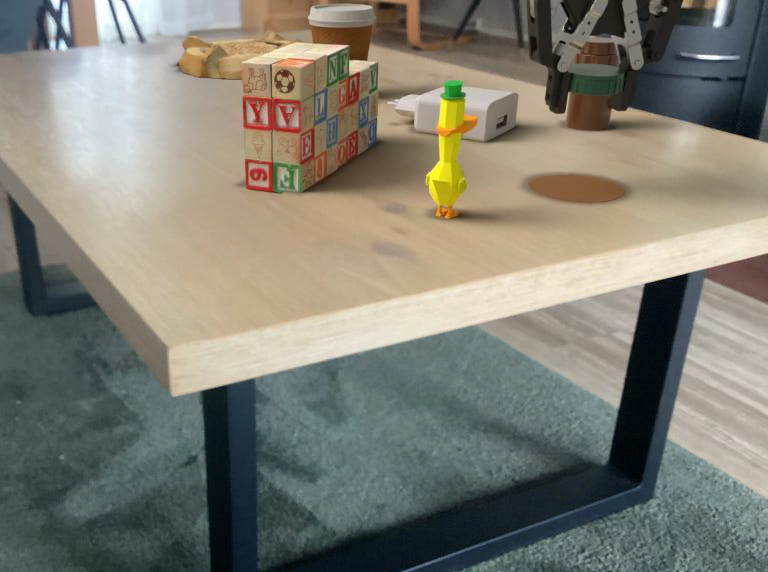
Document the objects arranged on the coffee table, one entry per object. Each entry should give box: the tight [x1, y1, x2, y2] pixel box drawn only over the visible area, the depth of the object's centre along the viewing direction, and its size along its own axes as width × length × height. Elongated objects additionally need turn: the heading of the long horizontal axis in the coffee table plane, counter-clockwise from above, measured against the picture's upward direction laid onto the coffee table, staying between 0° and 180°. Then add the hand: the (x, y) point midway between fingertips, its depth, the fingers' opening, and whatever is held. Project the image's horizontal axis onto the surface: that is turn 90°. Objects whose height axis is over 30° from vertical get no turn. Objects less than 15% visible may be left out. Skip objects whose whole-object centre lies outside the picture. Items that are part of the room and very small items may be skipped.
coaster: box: [528, 174, 626, 204], centre depth 84 cm, size 9×9×1 cm
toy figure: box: [425, 80, 478, 219], centre depth 75 cm, size 7×4×12 cm, turn 142°
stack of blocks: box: [241, 42, 379, 194], centre depth 90 cm, size 21×6×12 cm, turn 155°
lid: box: [568, 63, 625, 96], centre depth 80 cm, size 6×6×2 cm
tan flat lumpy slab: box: [175, 29, 307, 80], centre depth 146 cm, size 24×24×5 cm
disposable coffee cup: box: [307, 3, 377, 61], centre depth 122 cm, size 10×10×12 cm
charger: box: [387, 85, 519, 143], centre depth 106 cm, size 5×9×15 cm
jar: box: [564, 36, 620, 132], centre depth 104 cm, size 5×5×10 cm
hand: (587, 110), depth 81 cm, fingers closed on lid, 5 cm apart
